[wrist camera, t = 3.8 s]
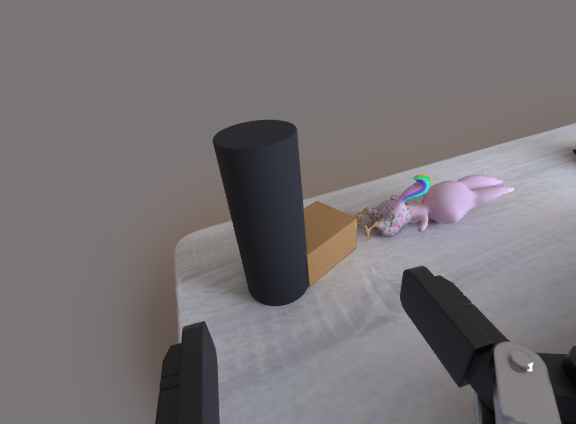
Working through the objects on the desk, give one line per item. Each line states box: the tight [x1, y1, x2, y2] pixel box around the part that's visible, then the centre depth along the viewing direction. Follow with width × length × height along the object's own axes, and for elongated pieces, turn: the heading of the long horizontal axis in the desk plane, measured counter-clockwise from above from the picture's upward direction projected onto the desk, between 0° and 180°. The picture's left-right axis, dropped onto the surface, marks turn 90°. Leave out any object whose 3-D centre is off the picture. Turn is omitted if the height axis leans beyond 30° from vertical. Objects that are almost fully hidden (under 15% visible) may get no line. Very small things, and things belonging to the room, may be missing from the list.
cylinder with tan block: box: [213, 120, 357, 306], centre depth 23 cm, size 10×5×13 cm, turn 133°
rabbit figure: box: [356, 174, 514, 241], centre depth 29 cm, size 6×6×15 cm
